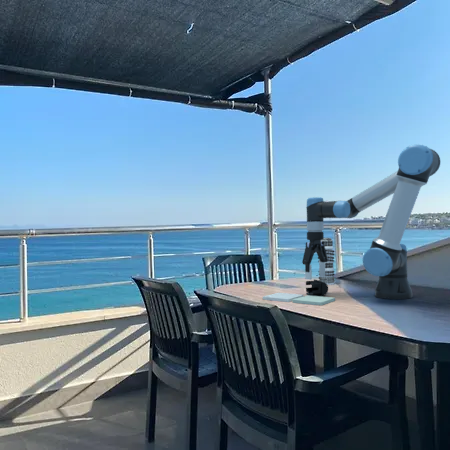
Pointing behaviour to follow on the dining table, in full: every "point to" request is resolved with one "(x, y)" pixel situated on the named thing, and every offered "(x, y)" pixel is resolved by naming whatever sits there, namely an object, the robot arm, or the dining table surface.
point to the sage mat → (313, 300)
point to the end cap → (317, 288)
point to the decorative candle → (328, 263)
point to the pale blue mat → (282, 297)
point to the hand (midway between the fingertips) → (315, 277)
